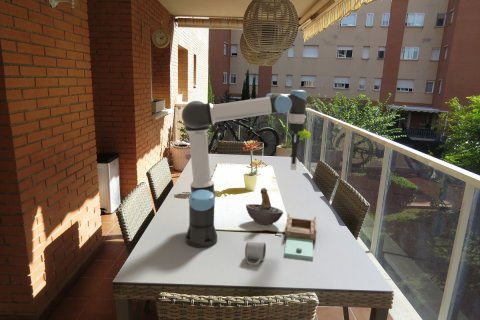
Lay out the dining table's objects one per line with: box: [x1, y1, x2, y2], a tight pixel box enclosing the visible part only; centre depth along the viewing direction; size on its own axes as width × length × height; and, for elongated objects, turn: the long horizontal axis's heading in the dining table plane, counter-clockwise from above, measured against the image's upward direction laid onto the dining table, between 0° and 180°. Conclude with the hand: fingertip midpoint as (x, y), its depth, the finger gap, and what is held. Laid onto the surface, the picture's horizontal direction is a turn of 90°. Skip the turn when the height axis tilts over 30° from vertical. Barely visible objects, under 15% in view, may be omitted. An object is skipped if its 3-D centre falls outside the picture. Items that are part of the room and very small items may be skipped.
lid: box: [283, 237, 314, 261], centre depth 160 cm, size 17×12×3 cm
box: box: [284, 213, 317, 244], centre depth 176 cm, size 18×15×6 cm
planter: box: [245, 187, 284, 225], centre depth 186 cm, size 15×17×20 cm
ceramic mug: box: [244, 241, 267, 267], centre depth 148 cm, size 11×8×8 cm
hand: (293, 169), depth 173 cm, fingers closed
